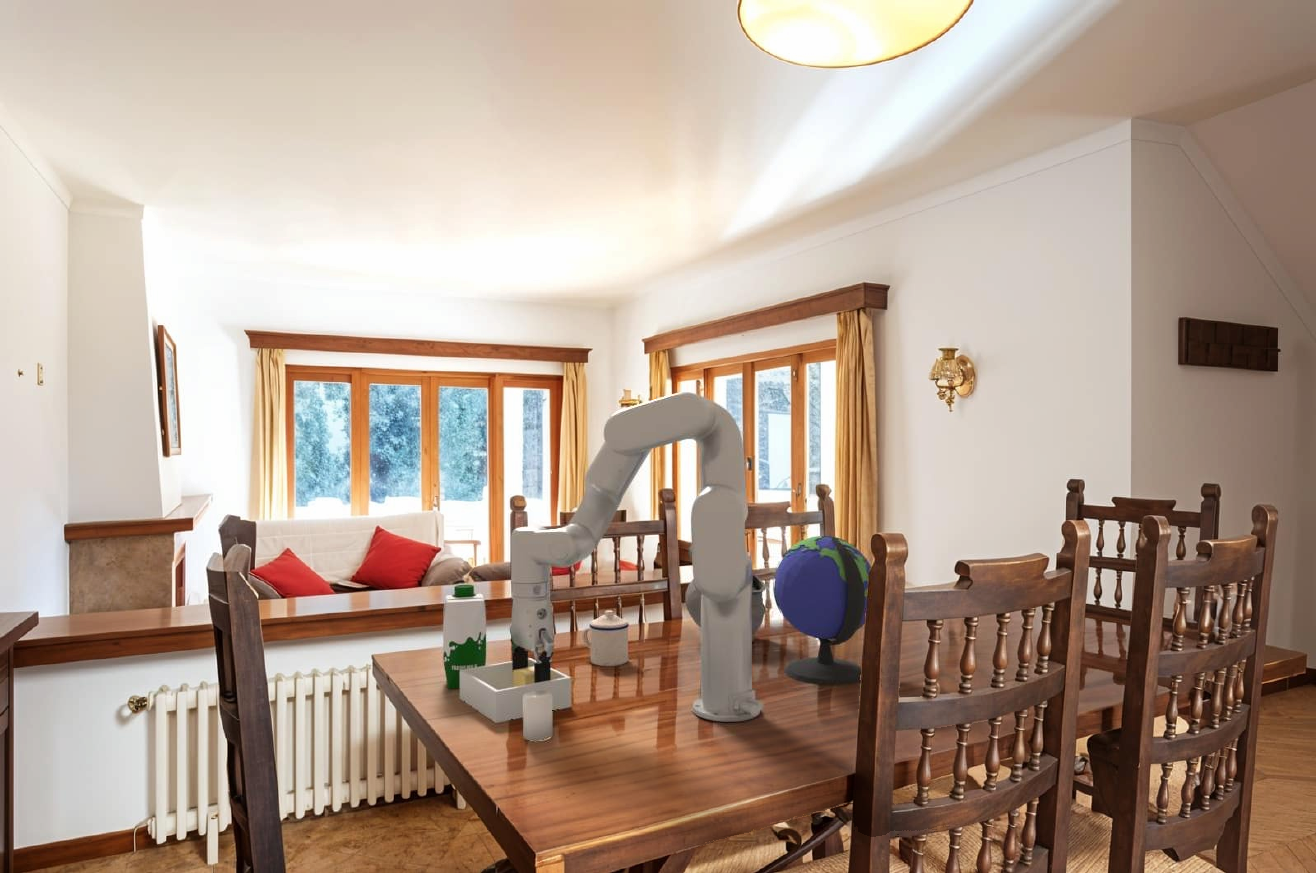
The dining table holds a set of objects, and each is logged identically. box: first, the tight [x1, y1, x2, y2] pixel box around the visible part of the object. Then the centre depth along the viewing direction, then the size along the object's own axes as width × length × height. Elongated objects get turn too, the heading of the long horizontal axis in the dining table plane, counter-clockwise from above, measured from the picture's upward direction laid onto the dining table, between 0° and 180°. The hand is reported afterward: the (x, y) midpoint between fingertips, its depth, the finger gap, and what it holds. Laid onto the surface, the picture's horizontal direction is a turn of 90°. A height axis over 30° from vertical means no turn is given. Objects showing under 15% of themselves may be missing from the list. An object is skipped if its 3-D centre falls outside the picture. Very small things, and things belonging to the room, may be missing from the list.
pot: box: [684, 545, 767, 642], centre depth 205 cm, size 21×21×25 cm
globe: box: [772, 535, 872, 686], centre depth 176 cm, size 22×22×30 cm
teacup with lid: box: [582, 609, 630, 667], centre depth 186 cm, size 12×9×12 cm
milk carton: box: [442, 584, 487, 690], centre depth 169 cm, size 9×9×20 cm
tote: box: [459, 657, 572, 724], centre depth 156 cm, size 17×15×6 cm
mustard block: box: [513, 666, 534, 687], centre depth 158 cm, size 5×5×5 cm
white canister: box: [522, 691, 554, 741], centre depth 138 cm, size 5×5×7 cm
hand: (531, 677), depth 158 cm, fingers open, 9 cm apart
